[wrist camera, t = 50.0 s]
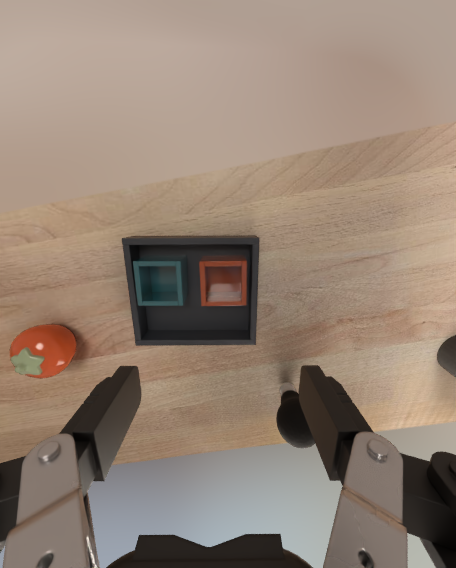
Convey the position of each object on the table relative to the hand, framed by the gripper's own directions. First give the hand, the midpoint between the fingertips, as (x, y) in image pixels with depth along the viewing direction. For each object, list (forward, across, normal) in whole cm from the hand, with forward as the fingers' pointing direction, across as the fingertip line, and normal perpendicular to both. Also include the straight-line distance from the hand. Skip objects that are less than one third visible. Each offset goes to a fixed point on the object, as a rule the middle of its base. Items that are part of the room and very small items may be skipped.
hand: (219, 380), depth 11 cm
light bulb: (+22, -10, +19) cm, 31 cm away
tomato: (+22, +25, +10) cm, 35 cm away
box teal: (+22, +8, 0) cm, 23 cm away
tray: (+22, +4, +2) cm, 23 cm away
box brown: (+22, 0, 0) cm, 22 cm away
